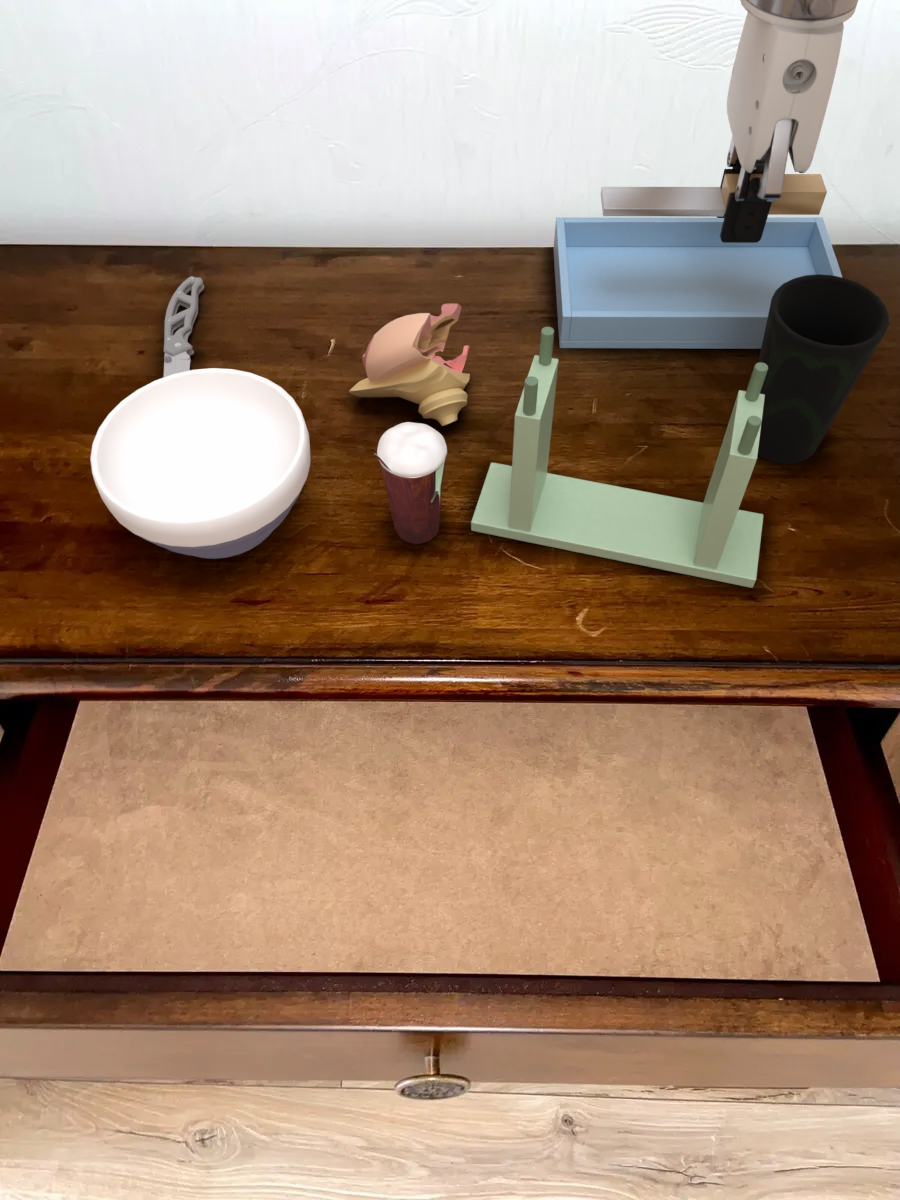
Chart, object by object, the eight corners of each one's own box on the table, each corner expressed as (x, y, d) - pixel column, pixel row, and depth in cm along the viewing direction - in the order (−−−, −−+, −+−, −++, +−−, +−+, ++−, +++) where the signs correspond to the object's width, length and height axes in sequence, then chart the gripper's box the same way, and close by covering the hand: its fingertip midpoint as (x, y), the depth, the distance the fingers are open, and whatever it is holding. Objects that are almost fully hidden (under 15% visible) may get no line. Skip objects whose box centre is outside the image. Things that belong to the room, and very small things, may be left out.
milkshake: (364, 535, 68) (350, 437, 60) (416, 493, 70) (409, 392, 62) (410, 569, 66) (401, 473, 58) (461, 525, 68) (461, 426, 60)
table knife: (812, 194, 76) (820, 171, 74) (820, 217, 74) (828, 193, 73) (600, 194, 76) (603, 171, 75) (602, 216, 75) (606, 193, 73)
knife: (197, 426, 74) (158, 430, 74) (205, 286, 84) (171, 288, 84) (192, 412, 73) (153, 415, 73) (201, 271, 83) (167, 273, 83)
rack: (760, 522, 68) (822, 368, 56) (752, 588, 65) (817, 439, 53) (490, 470, 71) (495, 314, 59) (470, 531, 68) (471, 378, 56)
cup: (719, 457, 72) (760, 331, 62) (741, 391, 76) (783, 263, 66) (822, 485, 70) (881, 360, 60) (839, 417, 74) (897, 288, 64)
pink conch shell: (506, 412, 76) (463, 403, 67) (400, 455, 79) (345, 452, 71) (471, 303, 76) (423, 279, 67) (366, 351, 80) (308, 335, 71)
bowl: (263, 620, 64) (241, 552, 58) (82, 558, 67) (43, 487, 61) (354, 470, 72) (343, 396, 65) (188, 421, 75) (162, 345, 68)
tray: (811, 249, 86) (822, 217, 83) (842, 349, 78) (856, 317, 76) (553, 249, 86) (556, 217, 84) (559, 348, 79) (562, 316, 76)
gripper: (891, 39, 57) (801, 292, 72) (836, -75, 66) (766, 171, 81) (765, 39, 57) (702, 292, 72) (728, -75, 66) (678, 171, 82)
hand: (736, 226), depth 77 cm, fingers closed on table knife, 2 cm apart
